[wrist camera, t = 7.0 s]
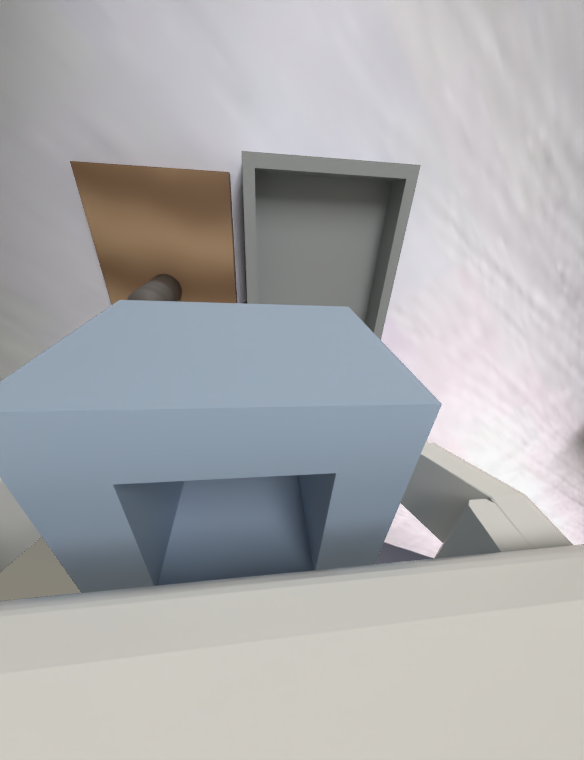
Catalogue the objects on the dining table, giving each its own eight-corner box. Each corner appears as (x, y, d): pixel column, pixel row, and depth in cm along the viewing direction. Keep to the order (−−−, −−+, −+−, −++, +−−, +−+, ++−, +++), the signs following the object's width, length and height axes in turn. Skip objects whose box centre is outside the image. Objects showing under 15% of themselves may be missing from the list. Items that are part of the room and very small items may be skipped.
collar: (119, 299, 8) (-46, 413, 3) (348, 306, 9) (441, 403, 4) (167, 489, 12) (119, 647, 8) (318, 481, 13) (351, 619, 8)
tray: (243, 157, 20) (241, 151, 18) (400, 170, 22) (420, 165, 19) (250, 357, 28) (249, 372, 26) (363, 356, 30) (373, 369, 27)
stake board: (82, 164, 19) (13, 147, 14) (230, 174, 20) (221, 162, 15) (132, 349, 27) (101, 385, 21) (239, 348, 28) (236, 383, 22)
